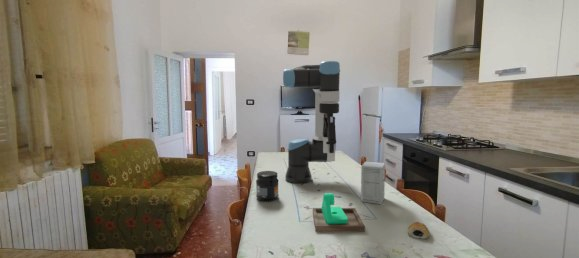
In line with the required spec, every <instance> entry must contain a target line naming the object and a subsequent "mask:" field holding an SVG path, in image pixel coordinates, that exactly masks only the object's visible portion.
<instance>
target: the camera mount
mask: <svg viewBox="0 0 579 258" xmlns="http://www.w3.org/2000/svg"><path fill="white" fill-rule="evenodd" d="M321 208H322V212H323V217H324V220H325V222H327V224H345V223H348V218H347V216H346V215H345V213H344V211H343V210H342V208H343V207H342V206H335V195H334V193H333V192H329V193H327V192H326V193H323V197H322V204H321Z"/></svg>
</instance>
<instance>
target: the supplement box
mask: <svg viewBox="0 0 579 258" xmlns="http://www.w3.org/2000/svg"><path fill="white" fill-rule="evenodd" d="M385 168H386V163H385V162H374V161H364V163H362V165H361V169H360V170H361V172H360V175H361V177H360V178H361V180H360V187H361V188H360V202H364V203H369V204H378V205H383V203H384V200H385V179H386V178H385V177H386V176H385V175H386V174H385V173H386V169H385Z"/></svg>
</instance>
